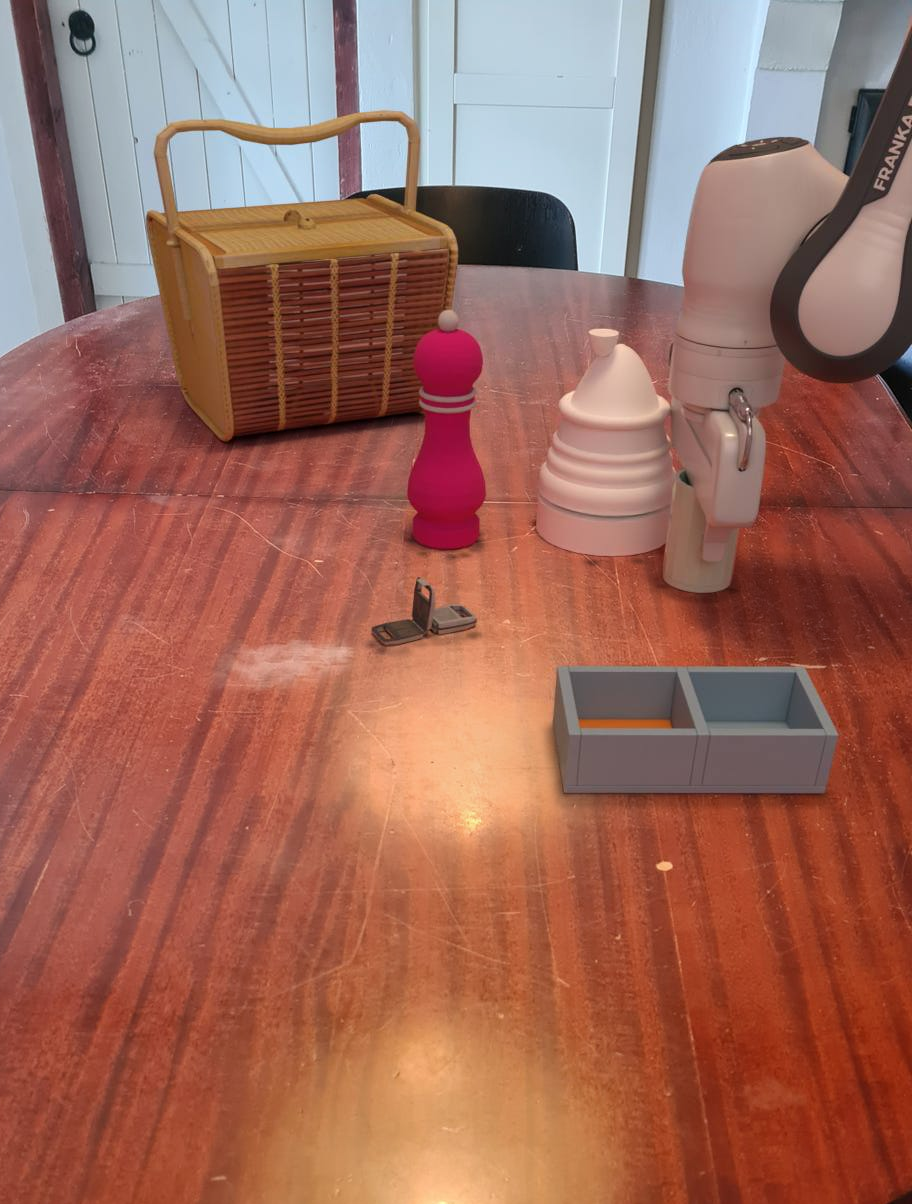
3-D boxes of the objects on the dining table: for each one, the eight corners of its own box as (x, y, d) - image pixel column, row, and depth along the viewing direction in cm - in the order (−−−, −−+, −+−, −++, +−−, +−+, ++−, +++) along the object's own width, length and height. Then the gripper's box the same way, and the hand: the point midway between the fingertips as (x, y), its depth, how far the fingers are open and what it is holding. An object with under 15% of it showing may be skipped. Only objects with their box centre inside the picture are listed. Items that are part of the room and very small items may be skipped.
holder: (792, 722, 89) (804, 666, 86) (825, 794, 82) (839, 734, 79) (552, 722, 89) (556, 665, 86) (563, 793, 82) (568, 734, 79)
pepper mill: (476, 519, 119) (481, 298, 107) (491, 549, 113) (499, 319, 101) (402, 524, 118) (399, 301, 106) (414, 554, 112) (413, 322, 100)
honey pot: (591, 567, 110) (609, 358, 99) (509, 519, 119) (517, 322, 108) (699, 537, 116) (728, 336, 105) (613, 494, 124) (632, 304, 114)
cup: (724, 564, 111) (739, 465, 106) (737, 593, 106) (754, 491, 101) (657, 563, 111) (669, 465, 106) (667, 593, 106) (681, 491, 101)
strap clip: (463, 612, 103) (464, 564, 101) (479, 627, 101) (481, 579, 98) (369, 632, 100) (367, 583, 98) (384, 648, 98) (383, 598, 95)
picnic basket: (216, 462, 131) (184, 138, 113) (156, 393, 150) (120, 106, 132) (465, 427, 141) (472, 123, 122) (379, 366, 159) (374, 95, 141)
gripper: (797, 414, 90) (764, 590, 98) (739, 337, 106) (716, 494, 114) (710, 413, 90) (685, 589, 98) (666, 337, 106) (648, 493, 114)
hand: (701, 537), depth 106 cm, fingers open, 7 cm apart
